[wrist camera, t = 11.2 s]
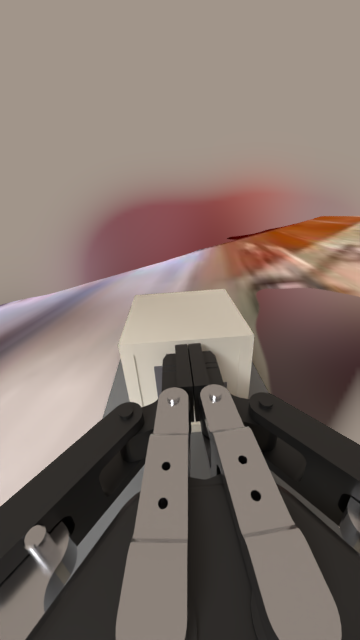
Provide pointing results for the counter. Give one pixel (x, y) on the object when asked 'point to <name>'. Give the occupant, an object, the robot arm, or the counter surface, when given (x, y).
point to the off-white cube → (184, 340)
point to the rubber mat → (197, 468)
